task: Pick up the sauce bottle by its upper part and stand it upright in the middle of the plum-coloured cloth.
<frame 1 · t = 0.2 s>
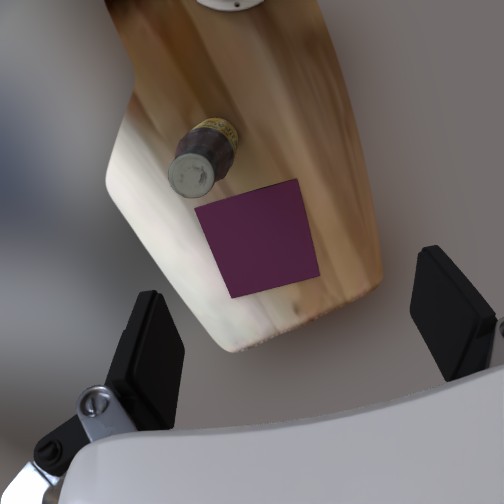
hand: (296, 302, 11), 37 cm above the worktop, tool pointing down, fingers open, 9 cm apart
sauce bottle: (215, 136, 43), on the worktop
cloth: (261, 243, 52), on the worktop
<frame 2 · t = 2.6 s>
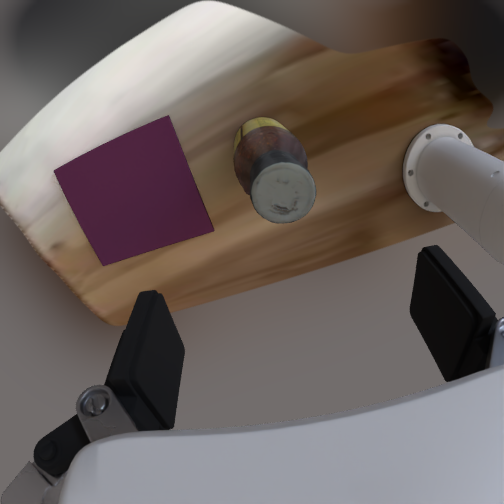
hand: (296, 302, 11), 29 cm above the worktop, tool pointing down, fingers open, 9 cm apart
sauce bottle: (262, 139, 36), on the worktop
cloth: (129, 198, 40), on the worktop
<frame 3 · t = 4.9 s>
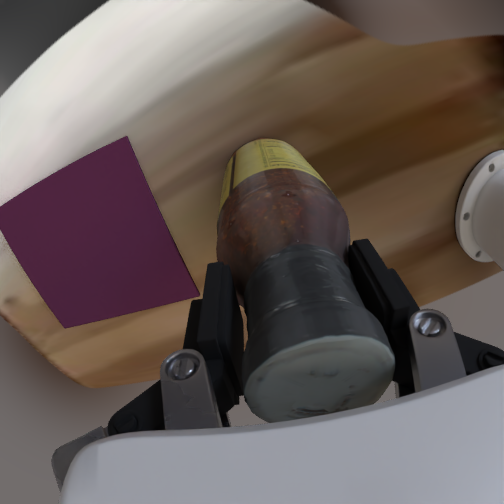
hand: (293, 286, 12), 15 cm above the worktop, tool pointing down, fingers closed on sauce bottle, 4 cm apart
sauce bottle: (266, 170, 25), on the worktop, touching gripper
cloth: (84, 251, 28), on the worktop
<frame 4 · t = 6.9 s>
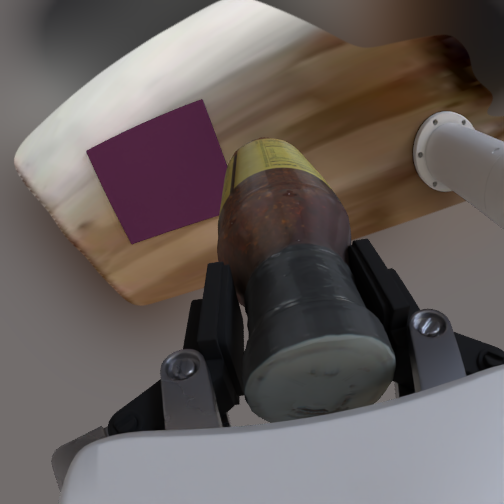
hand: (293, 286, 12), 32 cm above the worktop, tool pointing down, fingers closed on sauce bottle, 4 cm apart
sauce bottle: (268, 170, 25), point 17 cm above the worktop, touching gripper
cloth: (161, 176, 42), on the worktop
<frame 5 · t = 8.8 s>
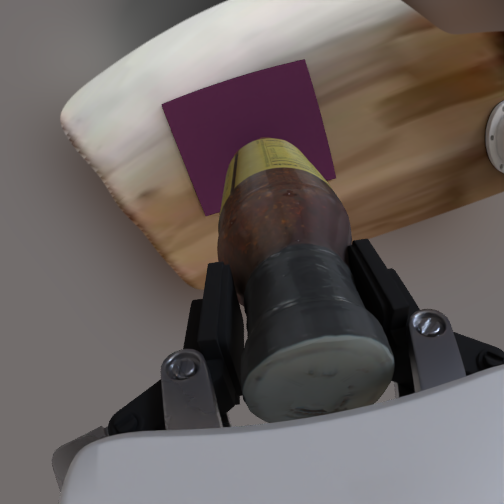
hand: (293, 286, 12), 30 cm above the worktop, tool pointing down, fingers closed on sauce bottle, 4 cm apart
sauce bottle: (269, 170, 25), point 15 cm above the worktop, touching gripper
cloth: (252, 138, 38), on the worktop
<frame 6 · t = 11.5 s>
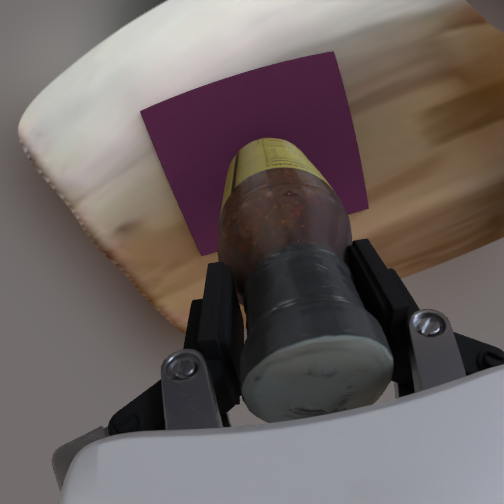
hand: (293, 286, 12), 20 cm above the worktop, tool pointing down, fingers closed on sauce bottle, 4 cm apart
sauce bottle: (270, 170, 25), point 5 cm above the worktop, touching gripper
cloth: (262, 157, 29), on the worktop
when the fingers open (15 cm above the worktop, at t = 13.1 s): sauce bottle stays where it is, resting on cloth.
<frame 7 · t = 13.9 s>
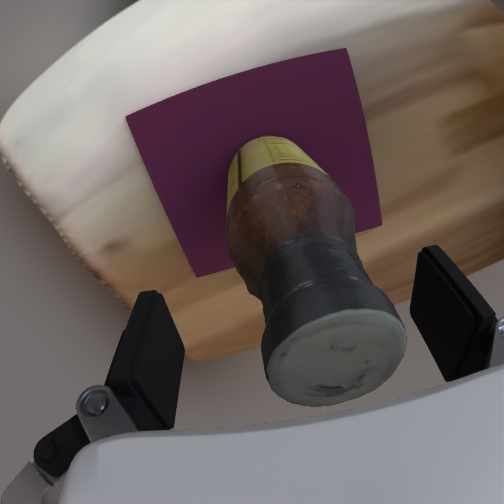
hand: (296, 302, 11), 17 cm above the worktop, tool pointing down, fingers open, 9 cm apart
sauce bottle: (269, 167, 25), resting on cloth
cloth: (264, 168, 25), on the worktop
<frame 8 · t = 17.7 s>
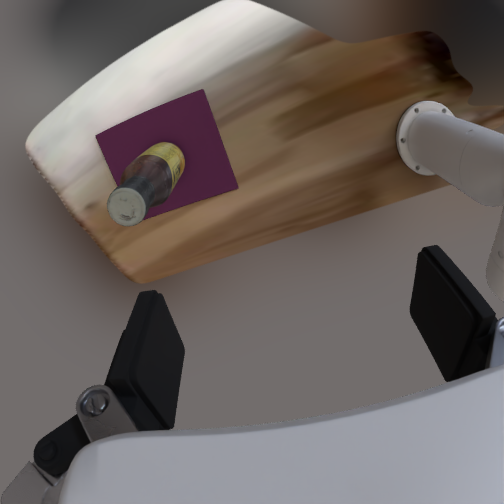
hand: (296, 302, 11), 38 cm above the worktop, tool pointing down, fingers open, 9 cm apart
sauce bottle: (167, 158, 46), resting on cloth
cloth: (164, 159, 46), on the worktop
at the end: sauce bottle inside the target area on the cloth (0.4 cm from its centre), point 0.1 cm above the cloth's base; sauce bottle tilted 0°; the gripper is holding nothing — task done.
